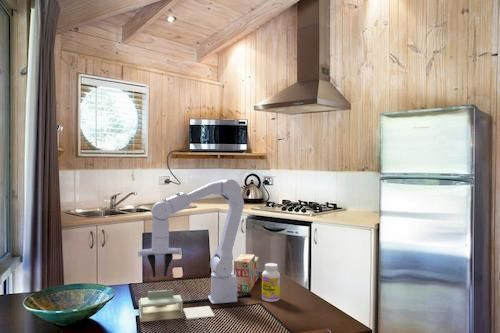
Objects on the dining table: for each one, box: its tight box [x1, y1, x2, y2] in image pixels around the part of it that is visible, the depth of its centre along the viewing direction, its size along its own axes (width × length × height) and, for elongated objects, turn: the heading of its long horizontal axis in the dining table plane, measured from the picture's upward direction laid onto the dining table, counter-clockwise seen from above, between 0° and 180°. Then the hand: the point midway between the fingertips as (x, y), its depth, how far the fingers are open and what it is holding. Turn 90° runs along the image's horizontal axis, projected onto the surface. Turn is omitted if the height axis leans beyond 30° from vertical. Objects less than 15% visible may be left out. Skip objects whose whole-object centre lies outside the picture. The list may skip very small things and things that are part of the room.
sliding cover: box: [139, 289, 184, 316], centre depth 128 cm, size 13×6×6 cm, turn 108°
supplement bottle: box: [261, 262, 281, 303], centre depth 145 cm, size 7×7×13 cm
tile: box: [183, 305, 216, 321], centre depth 129 cm, size 9×9×1 cm
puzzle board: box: [138, 299, 185, 323], centre depth 132 cm, size 13×17×1 cm
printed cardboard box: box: [233, 253, 260, 293], centre depth 163 cm, size 21×6×12 cm, turn 168°
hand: (159, 276), depth 135 cm, fingers open, 3 cm apart
